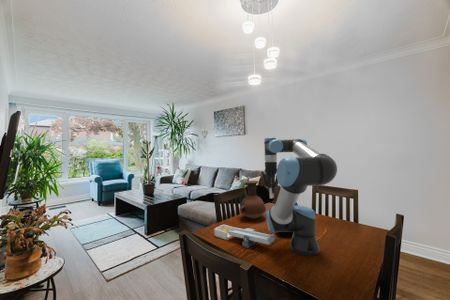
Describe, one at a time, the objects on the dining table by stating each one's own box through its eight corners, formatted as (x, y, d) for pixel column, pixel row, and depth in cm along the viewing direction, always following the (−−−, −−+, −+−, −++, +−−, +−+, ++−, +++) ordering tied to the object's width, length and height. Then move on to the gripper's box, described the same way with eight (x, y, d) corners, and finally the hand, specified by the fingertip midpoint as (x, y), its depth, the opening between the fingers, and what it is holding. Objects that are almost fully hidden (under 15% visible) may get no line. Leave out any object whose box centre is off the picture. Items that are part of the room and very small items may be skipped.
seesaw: (279, 236, 118) (279, 230, 118) (268, 244, 108) (268, 238, 108) (240, 228, 136) (240, 223, 136) (228, 234, 126) (228, 229, 127)
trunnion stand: (258, 241, 123) (258, 231, 123) (248, 248, 114) (247, 238, 114) (253, 239, 126) (252, 229, 126) (242, 246, 117) (242, 236, 117)
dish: (236, 234, 133) (235, 228, 133) (226, 240, 126) (226, 232, 126) (223, 230, 140) (223, 224, 140) (214, 235, 133) (213, 228, 133)
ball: (226, 234, 135) (229, 232, 133) (222, 236, 132) (225, 234, 130) (223, 229, 136) (226, 227, 135) (219, 231, 134) (222, 228, 132)
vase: (253, 212, 178) (252, 178, 178) (272, 217, 163) (271, 180, 163) (233, 219, 162) (232, 182, 162) (252, 226, 147) (251, 185, 147)
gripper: (282, 161, 129) (283, 198, 129) (264, 160, 137) (265, 195, 137) (277, 162, 123) (278, 200, 123) (258, 161, 131) (259, 197, 132)
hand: (271, 197), depth 130 cm, fingers closed
